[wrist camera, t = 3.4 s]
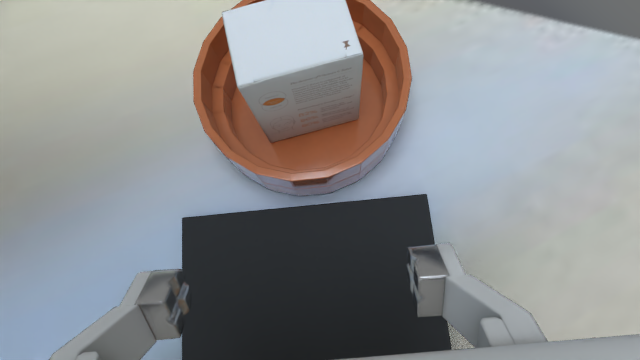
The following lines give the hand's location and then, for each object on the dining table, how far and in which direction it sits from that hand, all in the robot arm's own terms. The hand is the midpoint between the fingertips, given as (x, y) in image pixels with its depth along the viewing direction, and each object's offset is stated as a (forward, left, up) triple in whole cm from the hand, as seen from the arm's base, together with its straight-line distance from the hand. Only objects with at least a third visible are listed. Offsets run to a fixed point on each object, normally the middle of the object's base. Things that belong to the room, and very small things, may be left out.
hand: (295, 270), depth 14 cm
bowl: (0, +14, -17) cm, 22 cm away
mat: (-1, -5, -17) cm, 18 cm away
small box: (0, +14, -17) cm, 22 cm away
